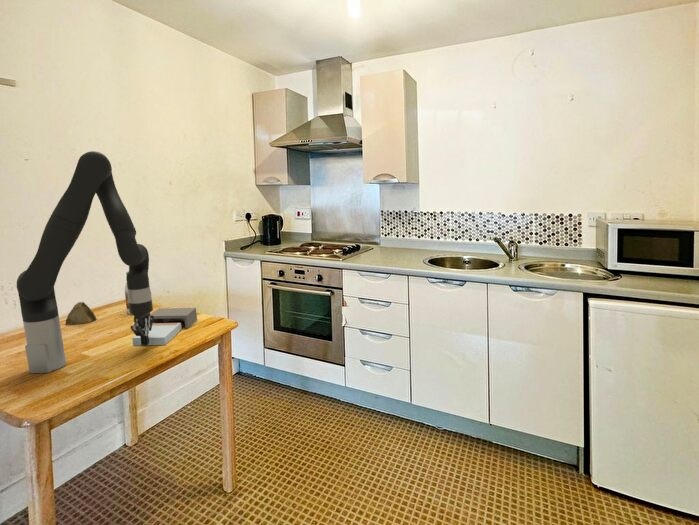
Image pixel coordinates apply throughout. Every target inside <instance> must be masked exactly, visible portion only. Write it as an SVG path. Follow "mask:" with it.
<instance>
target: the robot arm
mask: <svg viewBox="0 0 699 525" xmlns="http://www.w3.org/2000/svg"><path fill="white" fill-rule="evenodd" d="M112 169H113V168H112V164H111V162H110V159H109V158H108V157H107V156H106V155H105V154H104V153H101V152H99V151H94V150H93V151H92V150H91V151H86V152H85V153H83V154H82V155H80V157H79V158H78V160H77V163H76V167H75V170H74V172H73V175H72V178H71V180H70V183H69V185H68V187H67V188H66V190H65V192H63V194H62V196H61V197H60V199H59V201H58V202H57V204H56V206H55V208H54V209H53V211H52V213H51V214H50V216H49V218H48V220H47V223H46V224H45V227H44V229H43V232H42V235H41V237H40V241H39V245H38V248H37V250H36V254H35V256H34V257H33V259H32V261H31V262H30V264H29V266H28V267H27V268H26V270H23V271H22V272H21V273H20V274H19V275H18V276H17V279H16V289H17V293H18V300H19V304H20V311H21V312H20V313H21V316H22V317H21V318H22V325H23V327H24V328H23V329H24V335H25V339H26V340H25V341H26V344H25V346H24V348H25V354H26V359H27V364H28V365H27V366H28V371H29V374H49V373H52V372H54V371H56V370H58V369H61V368H63V367H65V366H66V364H67V360H66V352H65V347H64V341H63V335H62V328H61V322H60V316H59V309H58V304H57V299H56V298H57V297H56V291H55V285H56V282H57V278H58V275H59V273H60V270H61V269H62V265H63V263H64V261H65V260H66V258H67V257H68V255H69V254H70V252H71V250H72V249H73V248H74V246H75V245H76V244H75V243H76V242H77V240H78V238H79V236H80V235H81V232H82V231H83V229H84V226H85V225H86V223H87V220H88V218H89V214H90V211H91V207H92V204H93V200H94V197H95V195H96V196H97V198H98V200H99V201H100V206H101V207H102V210H103V214H104V216H105V219H106V222H107V224H108V226H109V228H110V230H111V232H112V235H113V236H114V240H115V245H116V249H117V253H118V256H119V258H120V260H121V261H122V263H123V264H125V266H128V271H129V272H128V271H127V272H128V274H127V275H126V283H127V288H128V303H129V311H130V314H129V315H133V322H134V324H133V325H130V330H131V332H133V334H134V336H140V337H141V345H140V346H149V345H148V344H149V337H148V334H149V331H151V329H152V324H153V320H154V316H151V315H150V314H151V313H152V312H153V311H154V310H153V309H154V307H153V306H154V305H153V298H152V290H151V287H150V278H149V266H150V256H149V251H148V249H147V247H146V246H145V245H143V244H141V243H138V242H137V238H136V235H137V230H136V228H135V224H134V223H133V221H132V220H133V219H132V218H131V216H130V214H129V212H128V210H127V208H126V206H125V204H124V203H123V200H122V199H121V197H120V195H119V192H118V189H117V186H116V184H115V181H114V176H113V172H112Z"/></svg>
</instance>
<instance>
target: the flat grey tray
mask: <svg viewBox="0 0 699 525" xmlns="http://www.w3.org/2000/svg"><path fill="white" fill-rule="evenodd" d="M180 330H181V331H182V322H163V323H162V322H160V323H153V324H152V329H151V331H149V334H148V337H149V344H148V345H147V346H165V345H168V343H169V342H170V341H171V340H172V339H173V338H175V337H176V336H177V335H176V334H177V333H178V332H179V331H180ZM181 331H180V332H181ZM180 332H179V333H180ZM179 333H178V334H179ZM131 339H132V346H137V347H138V346H142V345H141V337H140V336H136V335H134V336H133V337H132V338H131Z"/></svg>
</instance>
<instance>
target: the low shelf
mask: <svg viewBox="0 0 699 525" xmlns="http://www.w3.org/2000/svg"><path fill="white" fill-rule="evenodd" d="M150 315H151V316H154V320H153V323H162V322H163V323H170V322H169V321H172V322H182V321H185V322H184V328H185V329H189V328H190V327H191V326H192V325H193V324H195V323H196V322H197V320H198V315H197V307H167V308H163V307H162V308H161V307H160V308H159V307H158V308H157V309H156V310H153V311H152V312H150Z"/></svg>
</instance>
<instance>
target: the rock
mask: <svg viewBox="0 0 699 525" xmlns="http://www.w3.org/2000/svg"><path fill="white" fill-rule="evenodd" d="M97 320H98V318H97V317H96V315H95V313H94V311H92V310H91V308H90V306H88V304H86V303H85V302H84V301H78V302H77V303H76V304H74V305H73V307H72V309H71V310H70V312H68V314H67V316H66V318H65V325H76V323H80V324H87V323H92V321H93V322H96V321H97Z"/></svg>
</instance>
